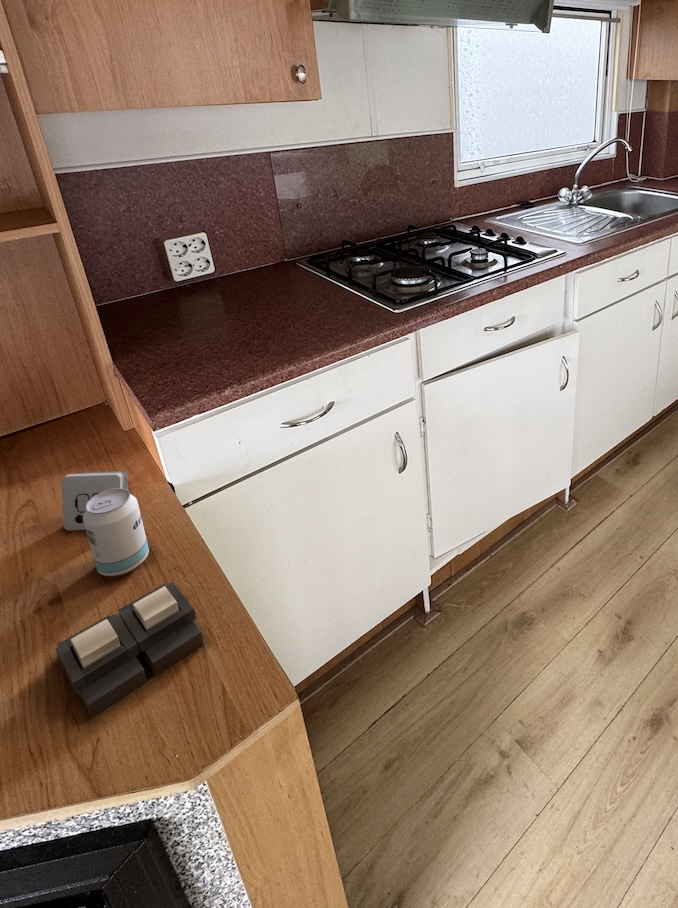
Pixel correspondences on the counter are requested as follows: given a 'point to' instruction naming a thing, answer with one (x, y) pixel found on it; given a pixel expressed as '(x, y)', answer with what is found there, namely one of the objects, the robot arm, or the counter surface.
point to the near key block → (104, 670)
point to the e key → (155, 607)
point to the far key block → (165, 632)
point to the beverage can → (115, 532)
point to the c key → (95, 643)
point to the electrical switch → (86, 493)
